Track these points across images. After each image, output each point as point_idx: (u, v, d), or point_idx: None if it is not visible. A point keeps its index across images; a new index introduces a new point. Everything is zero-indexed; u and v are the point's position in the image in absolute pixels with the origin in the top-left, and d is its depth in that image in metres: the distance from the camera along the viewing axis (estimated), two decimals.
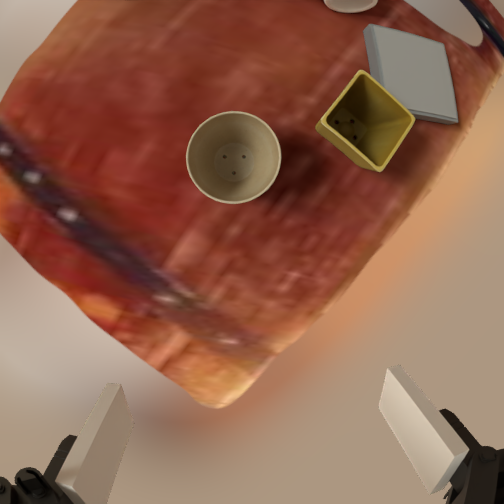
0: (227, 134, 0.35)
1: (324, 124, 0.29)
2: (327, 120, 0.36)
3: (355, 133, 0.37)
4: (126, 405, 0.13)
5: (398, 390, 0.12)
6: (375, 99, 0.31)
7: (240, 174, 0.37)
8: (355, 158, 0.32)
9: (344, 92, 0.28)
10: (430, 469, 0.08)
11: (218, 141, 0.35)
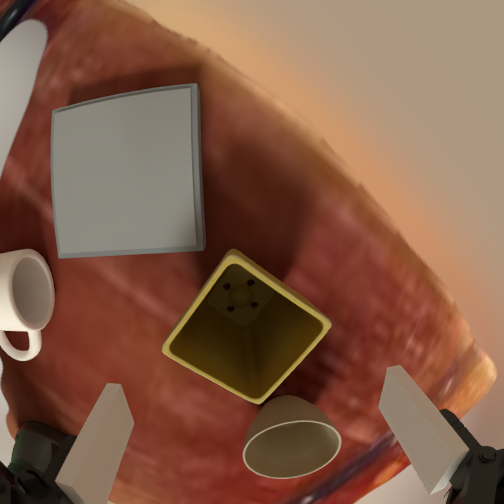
0: None
1: (262, 400, 0.21)
2: (232, 328, 0.28)
3: (244, 282, 0.28)
4: (126, 405, 0.13)
5: (398, 390, 0.12)
6: None
7: None
8: None
9: (209, 377, 0.20)
10: (430, 469, 0.08)
11: None
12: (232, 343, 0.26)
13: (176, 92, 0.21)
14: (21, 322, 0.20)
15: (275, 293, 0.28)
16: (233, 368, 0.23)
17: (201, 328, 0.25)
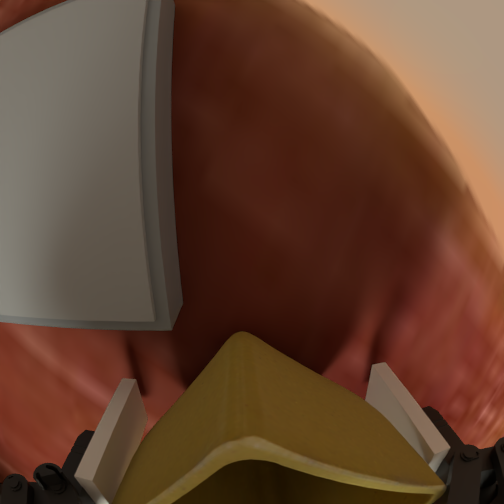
0: None
1: None
2: None
3: None
4: (140, 400, 0.13)
5: (382, 387, 0.12)
6: None
7: None
8: None
9: None
10: None
11: None
12: (239, 473, 0.12)
13: None
14: None
15: None
16: None
17: None
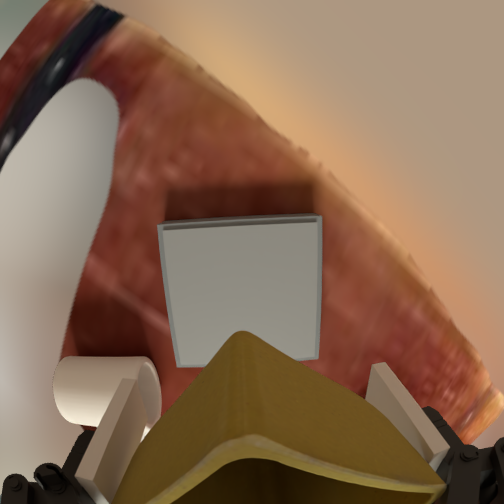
0: None
1: None
2: None
3: None
4: (141, 400, 0.13)
5: (382, 387, 0.12)
6: None
7: None
8: None
9: None
10: None
11: None
12: (239, 473, 0.12)
13: (304, 226, 0.25)
14: (148, 428, 0.24)
15: None
16: None
17: None
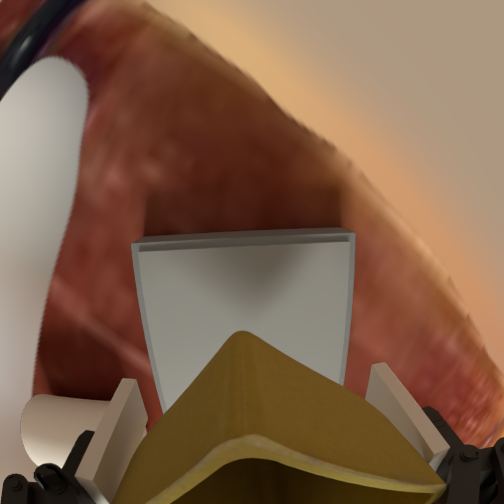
0: None
1: None
2: None
3: None
4: (141, 400, 0.13)
5: (382, 387, 0.12)
6: None
7: None
8: None
9: None
10: None
11: None
12: (239, 473, 0.12)
13: (332, 247, 0.18)
14: None
15: None
16: None
17: None
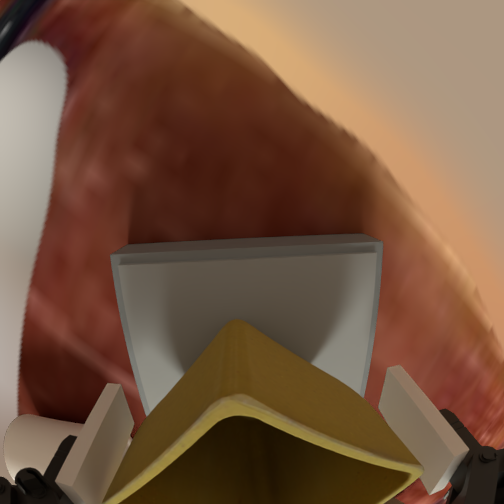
0: None
1: None
2: (231, 428, 0.15)
3: None
4: (126, 405, 0.13)
5: (398, 390, 0.12)
6: None
7: None
8: None
9: None
10: (430, 469, 0.08)
11: None
12: (232, 456, 0.14)
13: (356, 259, 0.15)
14: None
15: None
16: None
17: None
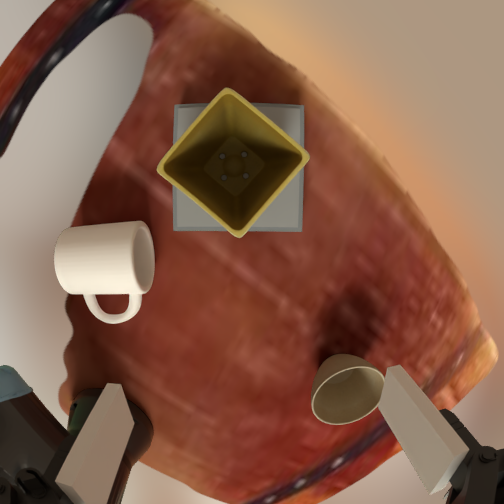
0: None
1: (243, 233, 0.24)
2: (223, 193, 0.30)
3: (238, 153, 0.30)
4: (126, 405, 0.13)
5: (398, 390, 0.12)
6: (196, 138, 0.24)
7: None
8: None
9: (194, 199, 0.23)
10: (430, 469, 0.08)
11: None
12: (222, 201, 0.29)
13: (289, 110, 0.30)
14: (137, 284, 0.29)
15: (265, 165, 0.30)
16: (219, 209, 0.26)
17: (194, 181, 0.28)
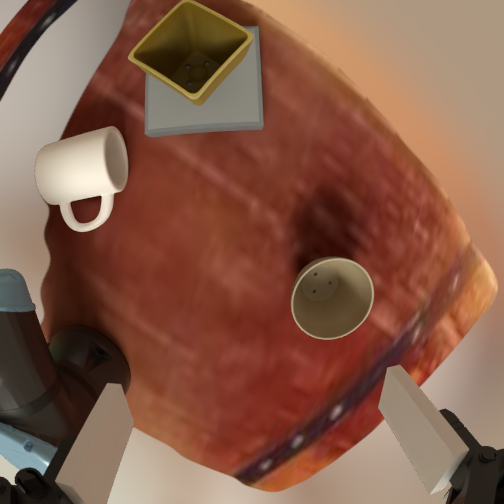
0: (297, 293, 0.38)
1: (198, 95, 0.23)
2: None
3: (202, 63, 0.30)
4: (126, 405, 0.13)
5: (398, 390, 0.12)
6: (163, 41, 0.24)
7: (331, 277, 0.40)
8: (236, 62, 0.25)
9: (157, 73, 0.23)
10: (430, 469, 0.08)
11: (302, 299, 0.39)
12: None
13: None
14: (107, 174, 0.29)
15: None
16: None
17: None
